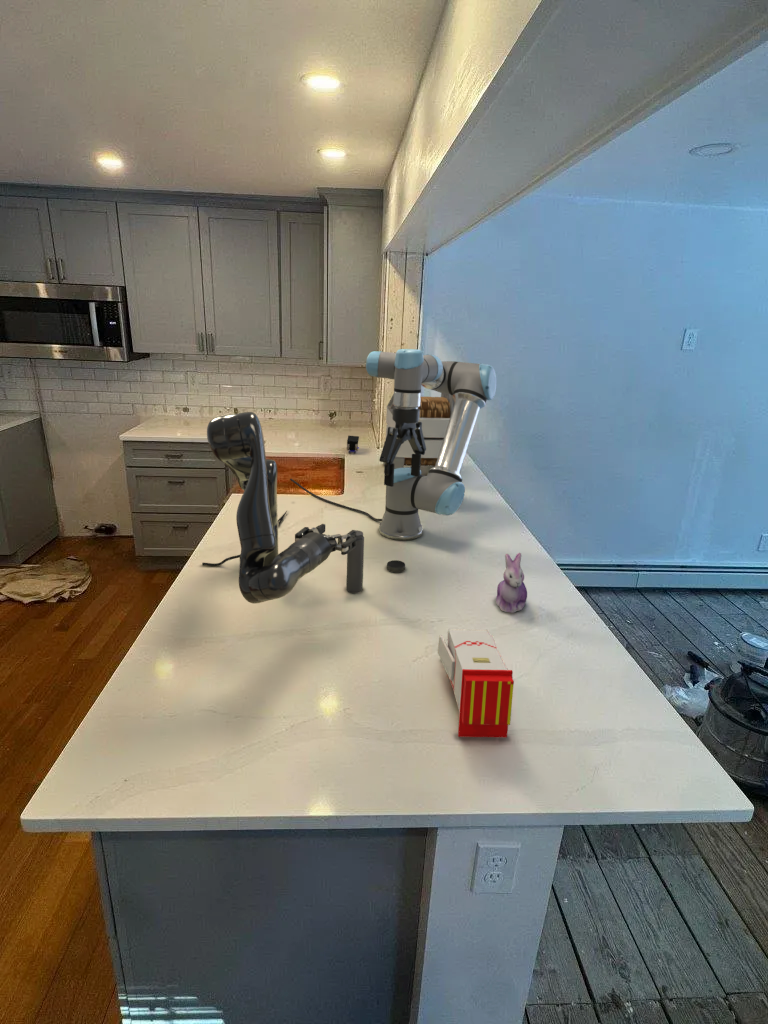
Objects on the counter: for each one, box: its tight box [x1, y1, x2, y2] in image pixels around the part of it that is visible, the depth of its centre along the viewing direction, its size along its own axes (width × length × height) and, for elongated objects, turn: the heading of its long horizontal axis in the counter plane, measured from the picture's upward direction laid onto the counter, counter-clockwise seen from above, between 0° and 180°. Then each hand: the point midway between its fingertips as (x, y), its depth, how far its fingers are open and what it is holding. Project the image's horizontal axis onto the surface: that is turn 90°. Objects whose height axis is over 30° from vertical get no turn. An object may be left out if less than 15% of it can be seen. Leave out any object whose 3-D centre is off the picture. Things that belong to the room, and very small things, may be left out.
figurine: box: [495, 552, 528, 614], centre depth 152 cm, size 9×10×15 cm
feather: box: [278, 510, 288, 528], centre depth 213 cm, size 2×28×2 cm
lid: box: [386, 559, 406, 574], centre depth 173 cm, size 6×6×2 cm
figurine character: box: [346, 435, 360, 455], centre depth 309 cm, size 7×8×15 cm
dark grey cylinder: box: [345, 529, 365, 594], centre depth 156 cm, size 5×5×17 cm
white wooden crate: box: [382, 393, 462, 475], centre depth 268 cm, size 34×33×41 cm
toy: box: [437, 628, 515, 738], centre depth 117 cm, size 12×13×30 cm
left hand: (339, 530), depth 143 cm, fingers open, 8 cm apart
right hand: (402, 480), depth 164 cm, fingers open, 13 cm apart
